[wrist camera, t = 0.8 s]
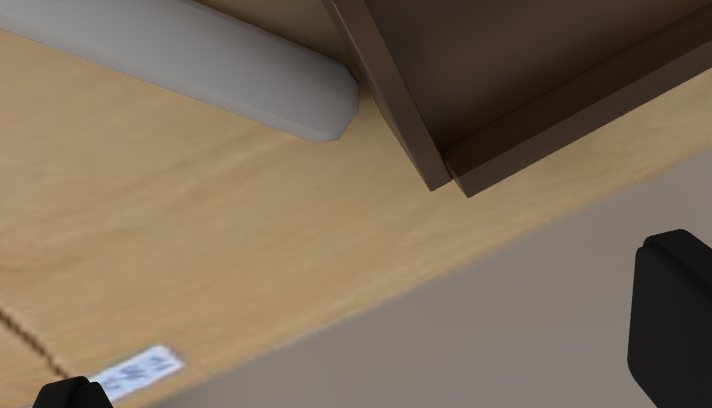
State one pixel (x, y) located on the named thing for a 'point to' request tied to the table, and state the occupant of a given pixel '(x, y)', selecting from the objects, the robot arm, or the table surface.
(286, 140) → the table surface
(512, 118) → the shelf rack
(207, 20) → the tube
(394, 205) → the table surface
